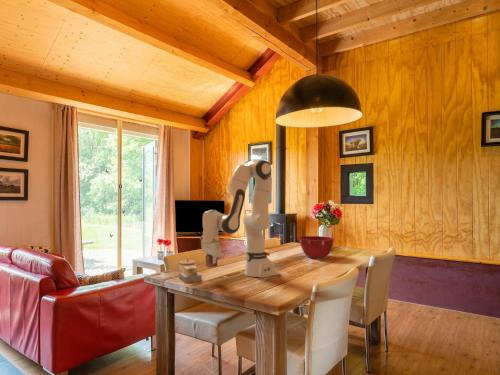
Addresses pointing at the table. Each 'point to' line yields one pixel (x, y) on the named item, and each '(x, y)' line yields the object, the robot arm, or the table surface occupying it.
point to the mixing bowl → (316, 246)
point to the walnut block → (210, 261)
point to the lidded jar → (186, 264)
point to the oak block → (190, 270)
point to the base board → (190, 277)
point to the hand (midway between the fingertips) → (211, 262)
